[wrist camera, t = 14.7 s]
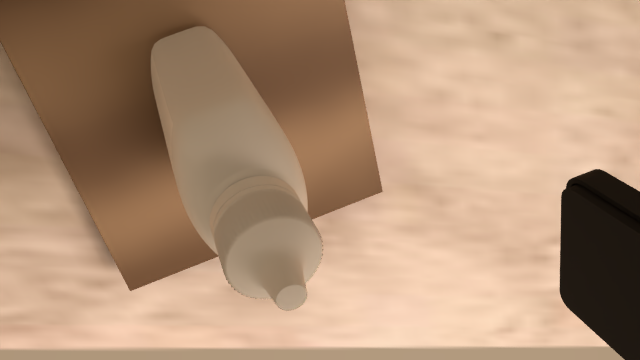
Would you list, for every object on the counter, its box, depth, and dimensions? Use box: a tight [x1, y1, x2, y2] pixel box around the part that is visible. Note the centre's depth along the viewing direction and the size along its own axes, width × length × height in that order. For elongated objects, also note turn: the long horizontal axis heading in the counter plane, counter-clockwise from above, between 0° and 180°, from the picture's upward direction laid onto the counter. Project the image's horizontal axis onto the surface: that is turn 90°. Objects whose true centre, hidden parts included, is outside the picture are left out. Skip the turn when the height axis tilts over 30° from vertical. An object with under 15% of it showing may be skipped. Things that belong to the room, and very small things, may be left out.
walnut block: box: [0, 0, 383, 291], centre depth 24 cm, size 14×12×3 cm
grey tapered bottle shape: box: [151, 26, 323, 311], centre depth 18 cm, size 4×6×12 cm
